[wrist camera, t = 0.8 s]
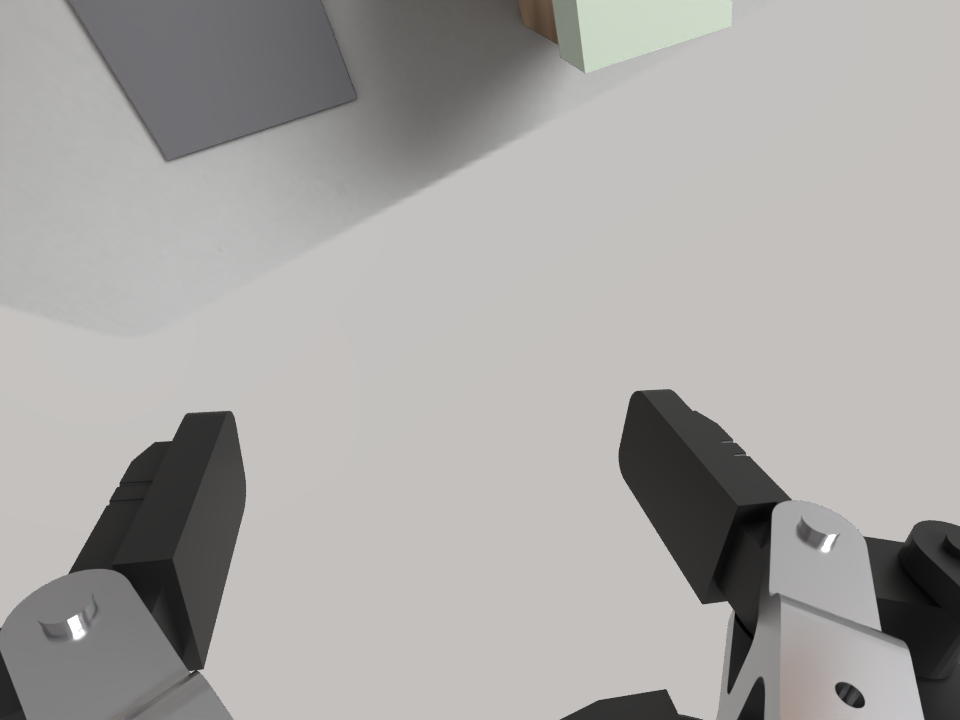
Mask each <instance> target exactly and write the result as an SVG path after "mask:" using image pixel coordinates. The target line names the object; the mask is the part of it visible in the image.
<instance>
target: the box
mask: <svg viewBox="0 0 960 720" xmlns="http://www.w3.org/2000/svg"><path fill="white" fill-rule="evenodd" d="M518 2H519V8H520V13H521V19H522V24H524V25H525V26H527V27H529V28H530V29H532V30H534V31H536V32H537V33H539V34H541V35H543V36H544V37H546V38H548V39H549V40H551V41H553V42H555V43H556V44H558V37H557V30H556V24H555V17H554V10H553V3H552V0H518ZM558 45H559V44H558Z"/></svg>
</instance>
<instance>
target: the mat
mask: <svg viewBox="0 0 960 720" xmlns="http://www.w3.org/2000/svg"><path fill="white" fill-rule="evenodd" d="M69 1H70V3H71V5H72V6H73V8H74V9H75V11H76V13H77V14H78V16H79V17H80V19H81V21H82V22H83V24H84V26H85V27H86V29H87V30H88V32H89V34H90V35H91V37H92V38H93V40H94V42H95V43H96V45H97V47H98V48H99V50H100V51H101V53H102V55H103V56H104V58H105V59H106V61H107V63H108V64H109V66H110V68H111V69H112V71H113V72H114V74H115V76H116V77H117V79H118V80H119V82H120V84H121V85H122V87H123V89H124V90H125V92H126V93H127V95H128V97H129V98H130V100H131V101H132V103H133V105H134V106H135V108H136V110H137V111H138V113H139V114H140V116H141V118H142V119H143V121H144V122H145V124H146V126H147V127H148V129H149V131H150V132H151V134H152V135H153V137H154V139H155V140H156V142H157V143H158V145H159V147H160V148H161V150H162V152H163V153H164V155H165V156H166V158H167V160H170V159H173V158H177V157H180V156H183V155H186V154H189V153H192V152H195V151H198V150H201V149H204V148H207V147H210V146H213V145H216V144H220V143H223V142H226V141H229V140H232V139H235V138H238V137H241V136H244V135H247V134H250V133H253V132H256V131H259V130H262V129H266V128H269V127H272V126H275V125H278V124H281V123H284V122H287V121H290V120H293V119H296V118H299V117H302V116H305V115H309V114H312V113H315V112H318V111H321V110H324V109H327V108H330V107H333V106H336V105H339V104H342V103H345V102H348V101H352V100H355V99H357V96H356V93H355V91H354V88H353V85H352V83H351V80H350V77H349V75H348V72H347V69H346V66H345V64H344V61H343V58H342V56H341V53H340V50H339V48H338V45H337V42H336V40H335V37H334V34H333V32H332V29H331V26H330V23H329V21H328V18H327V15H326V13H325V10H324V7H323V5H322V2H321V0H69Z"/></svg>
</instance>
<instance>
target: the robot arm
mask: <svg viewBox="0 0 960 720" xmlns="http://www.w3.org/2000/svg"><path fill="white" fill-rule="evenodd" d="M619 465H620V470H621V473H622V476H623V478H624V480H625V482H626V483H627V485H628V486H629V488H630V490H631V491H632V493H633V494H634V496H635V498H636V499H637V501H638V502H639V504H640V506H641V507H642V509H643V510H644V512H645V514H646V515H647V517H648V518H649V520H650V522H651V523H652V525H653V526H654V528H655V529H656V531H657V533H658V534H659V536H660V538H661V539H662V541H663V542H664V544H665V546H666V547H667V549H668V550H669V552H670V554H671V555H672V557H673V558H674V560H675V561H676V563H677V565H678V566H679V568H680V570H681V571H682V573H683V574H684V576H685V577H686V579H687V581H688V582H689V584H690V585H691V587H692V589H693V590H694V592H695V593H696V595H697V597H698V598H699V600H700V601H701V603H702V604H709V603H717V602H724V601H728V602H729V604H730V605H731V607H732V608H733V611H732V613H731V616H730V618H729V622H728V629H727V630H728V631H727V639H726V648H725V656H724V665H723V666H724V667H723V675H722V683H721V692H720V701H719V709H718V714H717V719H716V720H960V526H957V525H954V524H950V523H946V522H942V521H931V520H928V521H922V522H919V523H917V524H916V525H915V526H914V527H913V529H912V531H911V533H910V534H909V536H908V538H907V540H906V541H905V543H903V542H896V541H890V540H884V539H877V538H870V537H864V536H862V534H861V533H860V532H859V530H858V529H857V528H856V527H855V526H854V525H853V524H852V523H850V522H849V521H848V520H847V519H845V518H844V517H842V516H841V515H839V514H837V513H836V512H834V511H832V510H830V509H828V508H825V507H823V506H820V505H817V504H814V503H810V502H805V501H796V500H794V501H792V500H791V498H789V496H788V495H787V494H786V493H785V492H784V491H783V490H782V489H781V488H780V487H779V486H778V485H777V484H776V483H775V482H774V481H773V480H772V479H771V478H770V477H769V476H768V475H767V474H766V473H765V472H764V471H763V470H762V469H761V468H760V467H759V466H758V465H757V464H756V463H755V462H754V461H753V460H752V459H751V457H749V456H746V452H745V451H744V450H743V449H742V448H741V447H740V446H739V445H738V444H737V443H733V439H732V438H731V437H730V436H729V435H728V434H727V433H726V432H725V431H724V430H723V429H722V428H721V427H720V426H719V425H718V424H717V423H715V422H714V421H712V420H710V419H709V418H707V417H705V416H704V415H702V414H700V413H698V412H697V411H692V410H691V409H690V408H689V407H688V406H687V405H686V404H685V403H684V401H683V400H682V399H681V398H680V397H679V396H678V395H677V394H676V393H675V392H674V391H672V390H669V389H666V390H665V389H664V390H645V391H636V392H634V393H633V394H632V396H631V398H630V402H629V406H628V411H627V415H626V420H625V424H624V429H623V434H622V438H621V443H620V448H619ZM245 499H246V480H245V472H244V467H243V462H242V456H241V450H240V444H239V439H238V433H237V427H236V423H235V418H234V415H233V413H232V412H231V411H219V412H201V413H200V412H199V413H187V414H186V415H185V417H184V418H183V420H182V422H181V424H180V426H179V428H178V430H177V432H176V434H175V436H174V438H173V441H167V442H155V443H153V444H152V445H151V446H150V447H148V448H147V449H146V450H145V451H144V452H142V453H141V454H140V455H139V456H138V457H136V458H135V459H134V460H133V461H132V462H131V464H130V465H129V467H128V469H127V471H126V473H125V474H124V476H123V478H122V479H121V481H120V487H117V488H116V490H115V492H114V494H113V496H112V497H111V499H110V504H109V505H108V506H106V508H105V510H104V511H103V513H102V515H101V517H100V519H99V520H98V522H97V524H96V526H95V527H94V529H93V531H92V533H91V535H90V536H89V538H88V540H87V542H86V543H85V545H84V547H83V549H82V550H81V552H80V554H79V556H78V558H77V559H76V561H75V563H74V565H73V566H72V568H71V570H70V572H69V574H68V575H66V576H62V577H60V578H58V579H55V580H53V581H51V582H49V583H48V584H46V585H44V586H42V587H40V588H39V589H37V590H36V591H34V592H33V593H31V594H30V595H29V596H28V597H26V598H25V599H24V600H23V601H22V602H21V603H20V604H19V605H17V606H16V608H14V610H13V611H12V612H11V613H10V615H9V616H8V617H7V619H6V621H5V622H4V624H3V626H2V628H0V720H233V718H232V716H231V715H230V714H229V712H228V711H227V709H226V708H225V706H224V705H223V703H222V702H221V700H220V699H219V697H218V696H217V694H216V693H215V691H214V690H213V689H212V687H211V686H210V684H209V683H208V682H207V680H206V679H205V678H204V676H203V675H201V673H200V672H198V671H197V670H201V669H204V665H205V661H206V657H207V653H208V649H209V645H210V642H211V638H212V633H213V630H214V626H215V622H216V618H217V614H218V610H219V606H220V602H221V598H222V595H223V590H224V587H225V583H226V579H227V575H228V571H229V567H230V563H231V559H232V555H233V551H234V547H235V544H236V539H237V536H238V532H239V528H240V524H241V520H242V516H243V512H244V508H245ZM193 670H195V671H194V672H192V673H190V672H189V671H193ZM560 720H702V719H698V718H694V717H690V716H686V715H680V714H678V713H677V711H676V709H675V706H674V704H673V702H672V700H671V698H670V696H669V694H668V692H667V690H666V689H664V690H659V691H653V692H646V693H640V694H634V695H628V696H622V697H616V698H610V699H603V700H598V701H596V702H594V703H592V704H590V705H588V706H586V707H584V708H582V709H580V710H578V711H577V712H574V713H572V714H570V715H568V716H566V717H564V718H562V719H560Z"/></svg>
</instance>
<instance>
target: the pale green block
mask: <svg viewBox="0 0 960 720" xmlns="http://www.w3.org/2000/svg"><path fill="white" fill-rule="evenodd" d="M552 3H553V10H554V17H555V24H556V30H557V37H558V44H559V51H560V58H562V59H564V60H565V61H567V62H568V63H570V64H571V65H573V66H575V67H576V68H578V69H579V70H581V71H582V72H584V73H588V72H591V71H594V70H597V69H600V68H603V67H606V66H609V65H612V64H615V63H618V62H622V61H625V60H628V59H631V58H634V57H637V56H640V55H643V54H646V53H649V52H653V51H656V50H659V49H662V48H665V47H668V46H671V45H674V44H677V43H680V42H683V41H687V40H690V39H693V38H696V37H699V36H702V35H705V34H708V33H711V32H714V31H717V30H721V29H724V28H727V27H730V26H732V0H552Z"/></svg>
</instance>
